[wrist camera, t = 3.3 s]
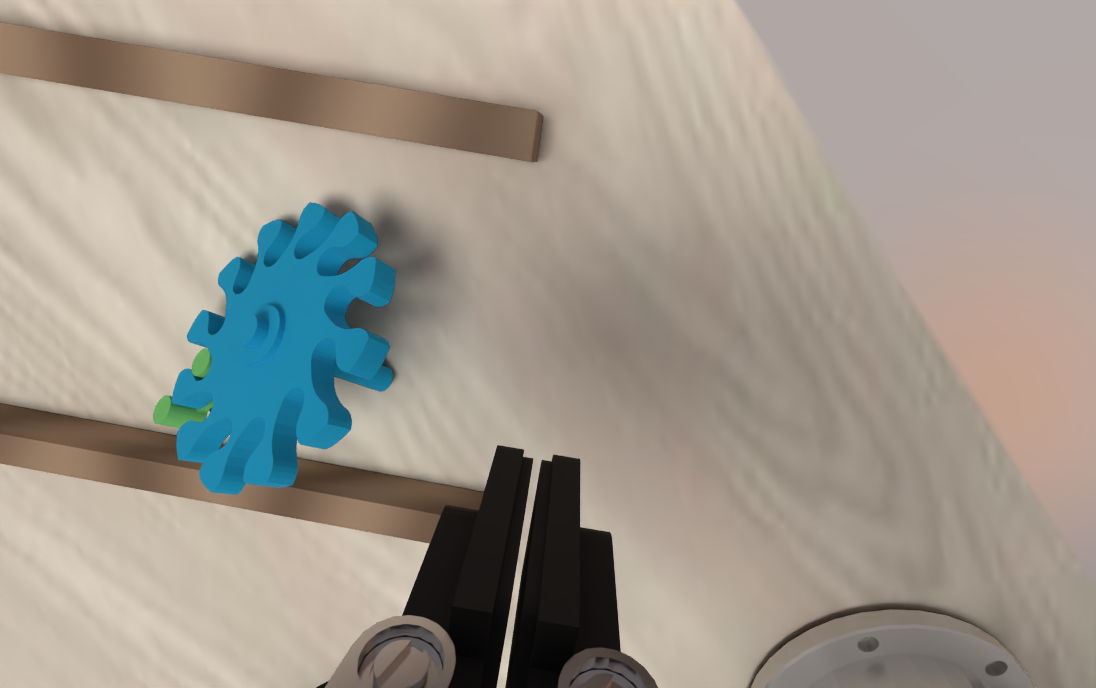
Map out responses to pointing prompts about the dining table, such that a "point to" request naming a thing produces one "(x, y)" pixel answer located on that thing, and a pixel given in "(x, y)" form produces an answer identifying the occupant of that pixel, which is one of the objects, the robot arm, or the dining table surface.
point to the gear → (280, 353)
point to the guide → (277, 96)
